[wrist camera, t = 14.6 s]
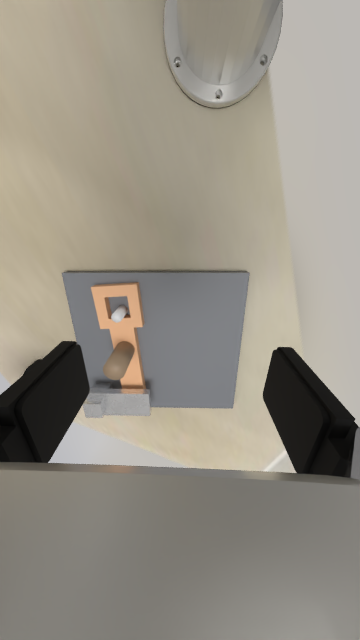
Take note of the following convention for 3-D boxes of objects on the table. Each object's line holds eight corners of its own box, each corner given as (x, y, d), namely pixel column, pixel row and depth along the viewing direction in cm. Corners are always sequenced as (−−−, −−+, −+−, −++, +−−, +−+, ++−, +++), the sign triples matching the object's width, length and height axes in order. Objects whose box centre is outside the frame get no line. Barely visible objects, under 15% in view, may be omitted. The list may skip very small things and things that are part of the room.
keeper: (98, 373, 40) (81, 399, 34) (153, 374, 40) (147, 400, 34) (101, 393, 42) (86, 421, 36) (154, 394, 42) (148, 422, 36)
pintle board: (66, 271, 33) (47, 277, 28) (246, 271, 32) (257, 277, 28) (93, 400, 43) (82, 420, 38) (231, 402, 42) (237, 423, 38)
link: (95, 284, 32) (69, 298, 25) (138, 282, 32) (125, 294, 25) (118, 392, 40) (104, 425, 33) (153, 391, 40) (147, 424, 33)
